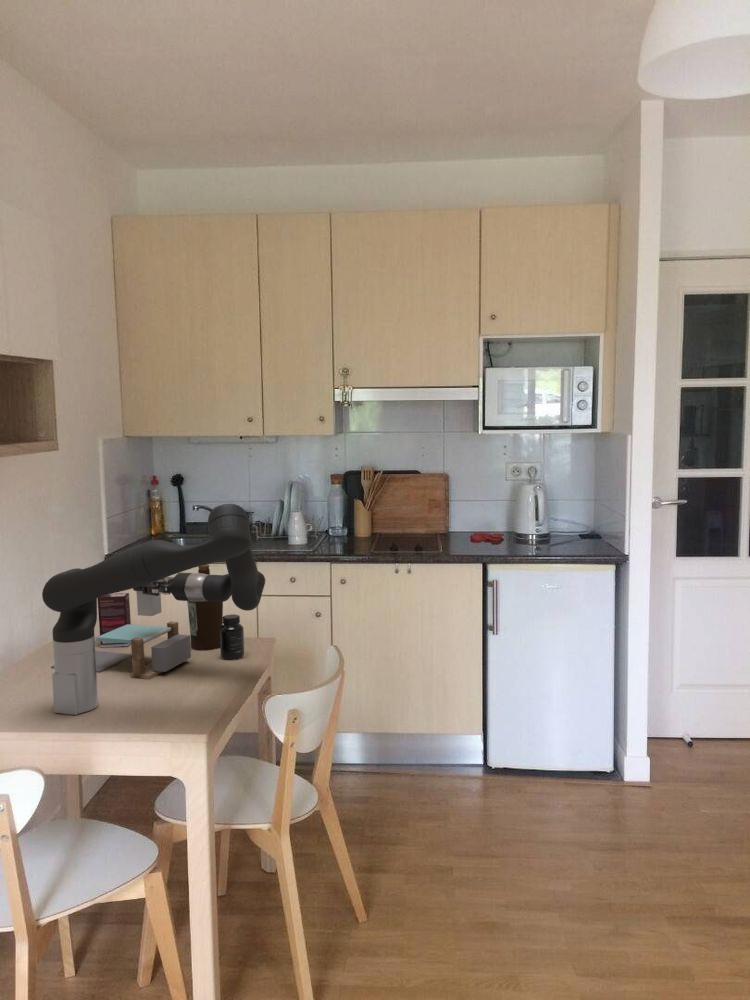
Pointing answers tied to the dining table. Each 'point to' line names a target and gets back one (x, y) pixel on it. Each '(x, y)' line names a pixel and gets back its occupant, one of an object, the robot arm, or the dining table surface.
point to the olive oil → (205, 620)
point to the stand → (138, 655)
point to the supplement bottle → (231, 638)
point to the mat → (107, 659)
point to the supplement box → (113, 615)
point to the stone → (148, 604)
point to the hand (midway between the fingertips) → (139, 584)
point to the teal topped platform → (162, 653)
